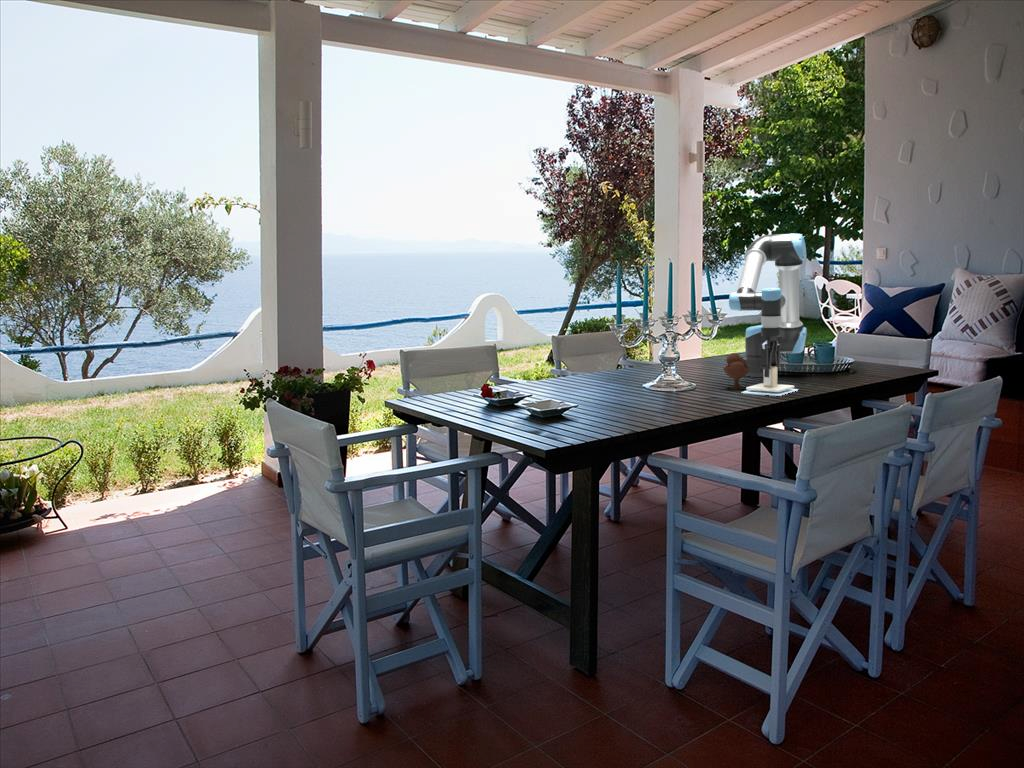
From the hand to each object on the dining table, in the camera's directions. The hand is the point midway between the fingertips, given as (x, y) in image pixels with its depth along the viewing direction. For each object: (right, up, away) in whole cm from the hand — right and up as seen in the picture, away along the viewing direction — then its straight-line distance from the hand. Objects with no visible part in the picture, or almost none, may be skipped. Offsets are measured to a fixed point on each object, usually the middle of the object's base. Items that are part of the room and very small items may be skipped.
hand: (770, 384), depth 343 cm
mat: (0, -3, 0) cm, 3 cm away
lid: (0, -2, 0) cm, 2 cm away
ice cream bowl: (-10, -2, +13) cm, 16 cm away
